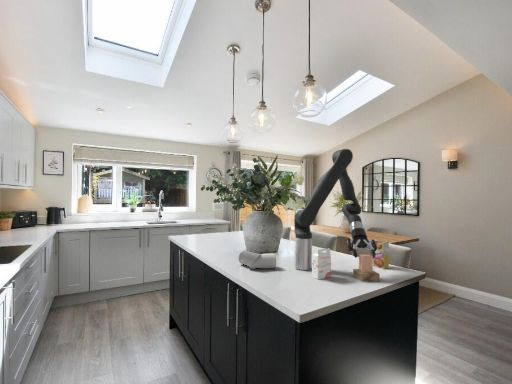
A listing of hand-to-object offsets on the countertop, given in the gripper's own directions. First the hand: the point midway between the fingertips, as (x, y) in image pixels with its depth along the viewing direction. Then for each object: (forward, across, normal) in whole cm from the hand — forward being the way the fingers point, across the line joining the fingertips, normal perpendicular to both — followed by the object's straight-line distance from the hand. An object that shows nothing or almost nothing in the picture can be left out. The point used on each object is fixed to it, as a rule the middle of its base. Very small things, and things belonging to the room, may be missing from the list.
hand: (365, 257), depth 132 cm
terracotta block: (+5, 0, +5) cm, 7 cm away
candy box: (-9, +17, +24) cm, 31 cm away
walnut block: (+8, 0, +7) cm, 11 cm away
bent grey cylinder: (-3, -56, +19) cm, 59 cm away
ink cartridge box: (+8, -22, +7) cm, 24 cm away
